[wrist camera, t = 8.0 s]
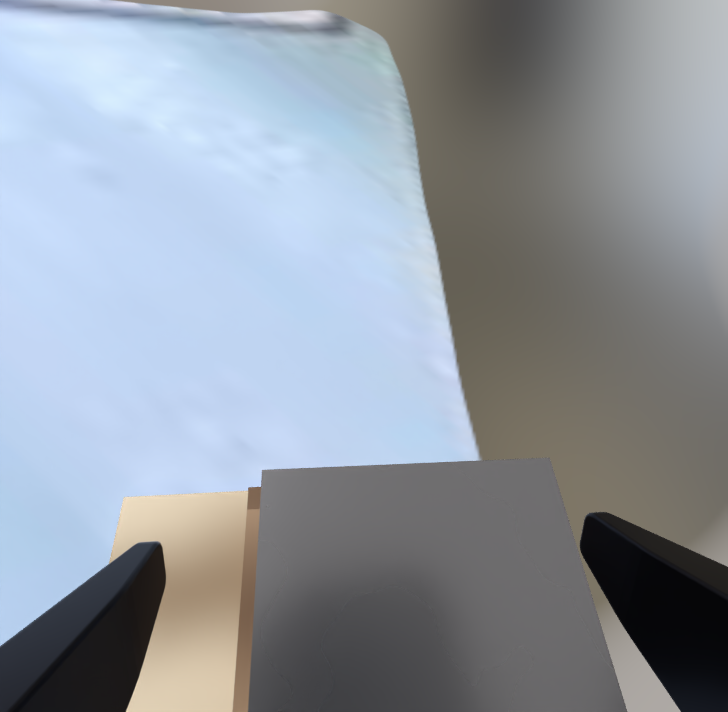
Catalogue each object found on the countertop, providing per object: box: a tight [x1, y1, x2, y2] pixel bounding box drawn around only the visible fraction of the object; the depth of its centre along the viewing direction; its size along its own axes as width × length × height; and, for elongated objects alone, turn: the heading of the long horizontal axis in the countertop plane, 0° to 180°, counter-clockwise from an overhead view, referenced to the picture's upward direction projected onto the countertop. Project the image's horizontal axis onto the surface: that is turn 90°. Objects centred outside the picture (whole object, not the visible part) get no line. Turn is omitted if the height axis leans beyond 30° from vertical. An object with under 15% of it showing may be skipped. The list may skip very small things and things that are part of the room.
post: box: [248, 458, 627, 712], centre depth 10 cm, size 4×4×11 cm
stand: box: [109, 487, 261, 712], centre depth 13 cm, size 8×13×4 cm, turn 94°
